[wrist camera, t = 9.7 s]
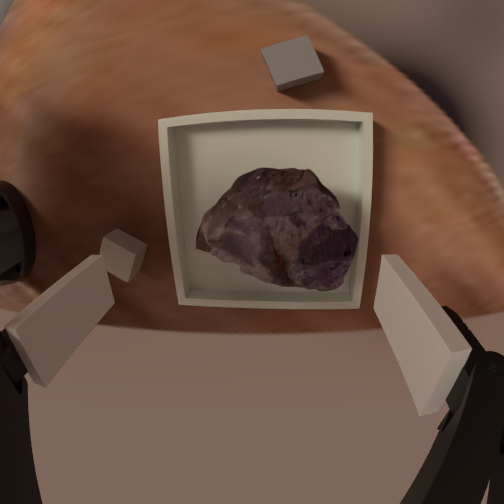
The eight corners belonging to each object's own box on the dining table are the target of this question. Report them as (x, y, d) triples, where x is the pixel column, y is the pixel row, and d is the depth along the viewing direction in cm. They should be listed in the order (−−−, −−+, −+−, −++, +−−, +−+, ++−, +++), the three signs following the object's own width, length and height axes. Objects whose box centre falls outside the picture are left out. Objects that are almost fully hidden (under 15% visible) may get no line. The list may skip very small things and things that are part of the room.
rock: (314, 271, 29) (347, 174, 25) (337, 325, 21) (390, 199, 17) (196, 247, 27) (218, 140, 23) (179, 298, 20) (205, 148, 16)
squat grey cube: (277, 92, 23) (276, 85, 20) (263, 58, 22) (260, 48, 19) (320, 79, 22) (324, 71, 19) (305, 46, 21) (307, 35, 18)
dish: (186, 292, 31) (178, 304, 28) (168, 120, 24) (158, 119, 22) (354, 295, 29) (359, 308, 26) (364, 115, 22) (372, 113, 20)
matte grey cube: (111, 254, 30) (97, 265, 28) (117, 227, 29) (103, 236, 26) (140, 270, 31) (127, 282, 28) (148, 244, 29) (135, 254, 27)
